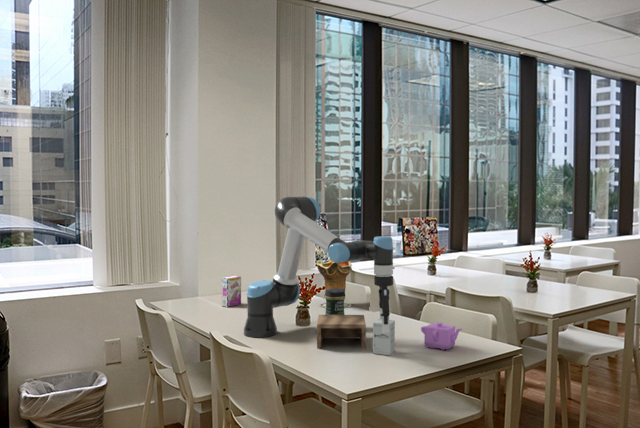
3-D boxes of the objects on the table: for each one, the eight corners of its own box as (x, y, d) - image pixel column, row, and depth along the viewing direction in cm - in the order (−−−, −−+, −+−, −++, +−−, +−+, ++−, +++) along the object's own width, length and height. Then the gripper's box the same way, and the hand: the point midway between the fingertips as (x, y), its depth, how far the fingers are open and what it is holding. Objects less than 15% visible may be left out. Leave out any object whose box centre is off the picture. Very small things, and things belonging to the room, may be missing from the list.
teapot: (467, 347, 225) (467, 322, 225) (457, 355, 214) (457, 329, 213) (426, 341, 235) (426, 317, 235) (414, 348, 223) (414, 324, 223)
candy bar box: (227, 307, 307) (227, 278, 307) (221, 306, 310) (221, 277, 310) (241, 304, 316) (241, 276, 316) (235, 303, 319) (235, 275, 319)
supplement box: (372, 353, 216) (372, 322, 216) (377, 349, 223) (377, 318, 223) (390, 355, 213) (390, 323, 213) (395, 350, 220) (395, 319, 220)
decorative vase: (309, 307, 304) (310, 257, 304) (325, 302, 325) (326, 255, 325) (344, 310, 296) (345, 259, 296) (358, 304, 317) (359, 256, 317)
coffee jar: (330, 329, 255) (330, 290, 255) (322, 326, 262) (322, 288, 261) (348, 327, 260) (348, 288, 259) (339, 323, 267) (339, 286, 266)
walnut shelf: (317, 348, 224) (316, 324, 224) (318, 337, 242) (318, 314, 242) (365, 348, 224) (365, 324, 223) (364, 337, 242) (363, 314, 241)
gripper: (396, 279, 205) (396, 336, 205) (390, 271, 230) (391, 321, 230) (376, 280, 205) (376, 336, 205) (372, 271, 230) (373, 321, 230)
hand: (384, 328), depth 218 cm, fingers open, 13 cm apart
